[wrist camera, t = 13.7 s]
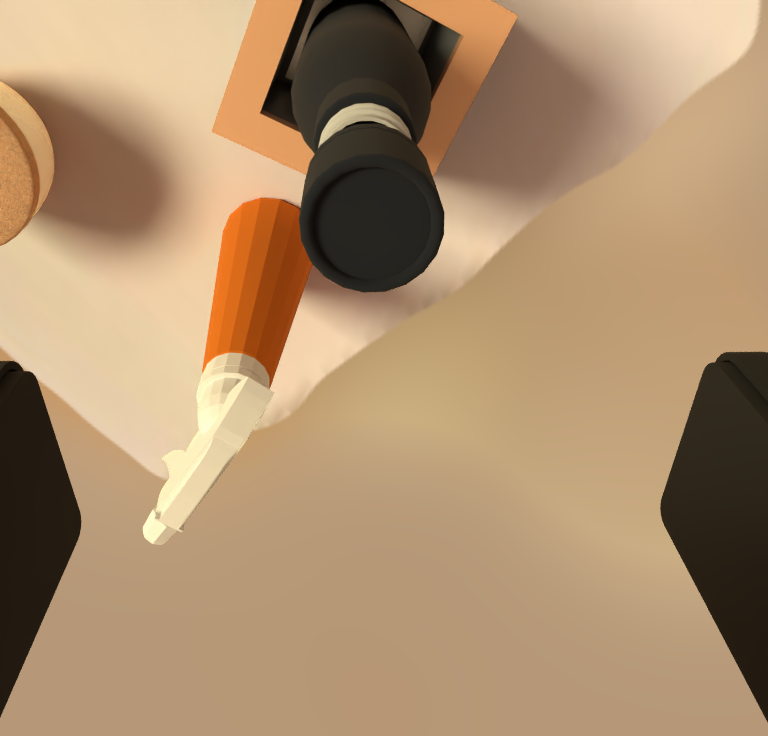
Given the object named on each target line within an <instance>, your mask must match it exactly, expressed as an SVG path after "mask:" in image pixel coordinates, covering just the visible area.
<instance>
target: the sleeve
mask: <svg viewBox="0 0 768 736" xmlns="http://www.w3.org/2000/svg"><path fill="white" fill-rule="evenodd" d="M398 1H400V2H402V3H403V4H405V5H407V6H409V7H411V8H412V9H414V10H416V11H418V12H420V13H421V14H423V15H425V16H427V17H429V18H430V19H431V20H432V22H431V24H430V26H429V28H428V31H427V33H426V35H425V37H424V39H423V41H422V43H421V45H420V48H419V50H418V53H419V55H420V56H421V58H422V60H423V62H424V64H425V67H426V70H427V74H428V77H429V81H430V84H431V111H430V115H429V118H428V121H427V124H426V127H425V130H424V134H423V136H422V138H421V140H420V142H419V143H418V145H417V146H418V147H419V149H420V150H421V151H422V153H423V154H424V156H425V157H426V159H427V162H428V165H429V168H430V171H431V174H432V177H433V176H434V174H435V172H436V170H437V168H438V166H439V164H440V162H441V161H442V159H443V157H444V155H445V153H446V151H447V149H448V147H449V145H450V144H451V142H452V140H453V138H454V136H455V134H456V132H457V130H458V128H459V127H460V125H461V123H462V121H463V119H464V117H465V115H466V113H467V111H468V110H469V108H470V106H471V104H472V102H473V100H474V98H475V96H476V94H477V93H478V91H479V89H480V87H481V85H482V83H483V81H484V79H485V77H486V75H487V74H488V72H489V70H490V68H491V66H492V64H493V62H494V60H495V58H496V57H497V55H498V53H499V51H500V49H501V47H502V45H503V43H504V41H505V40H506V38H507V36H508V34H509V32H510V30H511V28H512V26H513V24H514V23H515V21H516V19H517V17H518V15H516V14H514V13H512V12H511V11H509V10H507V9H505V8H504V7H502V6H500V5H499V4H497V3H495V2H493V1H492V0H398ZM313 3H314V0H257V1H256V4H255V6H254V9H253V12H252V15H251V18H250V21H249V24H248V27H247V30H246V33H245V36H244V39H243V41H242V44H241V47H240V50H239V53H238V56H237V59H236V62H235V65H234V68H233V71H232V73H231V76H230V79H229V82H228V85H227V88H226V91H225V94H224V97H223V100H222V103H221V106H220V108H219V111H218V114H217V117H216V120H215V123H214V126H213V129H212V132H213V133H216V134H218V135H220V136H222V137H224V138H227V139H229V140H231V141H233V142H235V143H237V144H240V145H242V146H244V147H246V148H248V149H251V150H253V151H255V152H257V153H259V154H261V155H264V156H266V157H268V158H270V159H272V160H275V161H277V162H279V163H281V164H283V165H286V166H288V167H290V168H292V169H294V170H296V171H299V172H301V173H303V174H305V175H307V171H308V166H309V162H310V161H311V159H312V158H313V156H314V153H313V151H312V150H311V149H310V148H309V146H308V145H307V144H306V143H305V141H304V139H303V137H302V135H301V132H300V130H299V127H298V125H297V123H296V120H295V118H294V115H293V108H292V98H291V88H292V84H293V81H292V80H290V79H288V78H286V77H285V76H286V73H287V71H288V68H289V66H290V63H291V60H292V58H293V55H294V52H295V50H296V47H297V45H298V42H299V39H300V37H301V34H302V32H303V29H304V26H305V24H306V21H307V19H308V16H309V13H310V11H311V8H312V5H313Z"/></svg>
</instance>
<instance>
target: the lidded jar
mask: <svg viewBox="0 0 768 736" xmlns="http://www.w3.org/2000/svg"><path fill="white" fill-rule="evenodd" d="M53 175H54V154H53V148H52V143H51V140H50V137H49V134H48V132H47V130H46V128H45V126H44V124H43V122H42V120H41V119H40V117H39V116H38V114H37V113H36V111H35V110H34V109H33V108H32V107H31V106H30V104H29V103H28V102H27V101H26V100H25V99H24V98H23V97H22V96H20V95H19V94H18V93H17V92H16V91H14V90H13V89H12V88H10V87H9V86H7V85H6V84H4V83H2V82H0V246H1V245H3V244H6V243H7V242H9V241H10V240H12V239H13V238H14V237H16V236H17V235H18V234H19V233H20V232H21V231H22V230H23V229H24V228H25V227H26V226H27V225H28V223H29V221H30V220H31V218H32V217H33V216H34V215H35V214H36V213H37V212H38V210H39V209H40V207H41V206H42V204H43V202H44V201H45V199H46V197H47V195H48V193H49V190H50V187H51V184H52V181H53Z"/></svg>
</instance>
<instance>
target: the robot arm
mask: <svg viewBox="0 0 768 736" xmlns="http://www.w3.org/2000/svg"><path fill="white" fill-rule="evenodd" d="M660 509H661V516H662V521H663V523H664V526H665V528H666V530H667V532H668V533H669V535H670V537H671V539H672V541H673V543H674V545H675V547H676V549H677V551H678V552H679V554H680V556H681V558H682V560H683V562H684V564H685V566H686V568H687V569H688V572H689V573H690V575H691V577H692V579H693V581H694V583H695V585H696V587H697V589H698V591H699V592H700V594H701V596H702V598H703V600H704V602H705V603H706V605H707V608H708V610H709V611H710V613H711V615H712V617H713V619H714V621H715V623H716V625H717V626H718V629H719V631H720V632H721V634H722V636H723V638H724V640H725V642H726V644H727V646H728V647H729V649H730V651H731V653H732V655H733V657H734V659H735V661H736V663H737V665H738V667H739V669H740V670H741V672H742V674H743V676H744V678H745V680H746V682H747V684H748V686H749V688H750V689H751V692H752V693H753V695H754V697H755V699H756V701H757V703H758V705H759V707H760V709H761V710H762V712H763V714H764V716H765V718H766V720H767V722H768V353H766V352H726V353H723V354H721V355H720V356H719V357H718V358H717V360H716V362H715V363H710V364H708V365H707V366H706V367H705V369H704V371H703V374H702V377H701V380H700V383H699V386H698V390H697V392H696V395H695V399H694V401H693V404H692V407H691V411H690V413H689V417H688V420H687V423H686V426H685V429H684V433H683V435H682V438H681V441H680V444H679V447H678V450H677V453H676V456H675V459H674V462H673V465H672V468H671V471H670V474H669V478H668V481H667V484H666V487H665V490H664V493H663V496H662V499H661V508H660ZM80 529H81V515H80V510H79V507H78V504H77V501H76V498H75V495H74V492H73V489H72V486H71V483H70V479H69V477H68V473H67V470H66V467H65V464H64V461H63V458H62V455H61V452H60V449H59V445H58V442H57V440H56V436H55V433H54V430H53V427H52V424H51V421H50V418H49V415H48V412H47V409H46V405H45V402H44V399H43V396H42V393H41V390H40V387H39V384H38V381H37V379H36V376H35V375H34V374H33V373H32V372H29V371H23V369H22V367H21V366H20V365H19V364H18V363H17V362H14V361H0V717H1V714H2V712H3V710H4V707H5V705H6V703H7V701H8V698H9V696H10V694H11V691H12V689H13V687H14V685H15V682H16V680H17V678H18V675H19V673H20V671H21V669H22V666H23V664H24V662H25V659H26V657H27V655H28V653H29V650H30V648H31V646H32V644H33V641H34V639H35V636H36V634H37V632H38V630H39V628H40V625H41V623H42V621H43V618H44V616H45V614H46V611H47V609H48V607H49V605H50V602H51V600H52V598H53V596H54V593H55V591H56V589H57V586H58V584H59V582H60V579H61V577H62V575H63V573H64V570H65V568H66V566H67V564H68V561H69V559H70V557H71V554H72V552H73V550H74V548H75V545H76V543H77V541H78V538H79V535H80Z"/></svg>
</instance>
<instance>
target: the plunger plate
mask: <svg viewBox="0 0 768 736" xmlns="http://www.w3.org/2000/svg"><path fill="white" fill-rule="evenodd" d="M331 1H333V0H314V3H313V5H312V8H311V11H310V13H309V16H308V19H307V21H306V24H305V26H304V29H303V32H302V34H301V37H300V39H299V42H298V45H297V47H296V50H295V52H294V55H293V58H292V60H291V63H290V66H289V68H288V71H287V73H286V76H285V77H286V78H288V79H290V80H292V81H293V79H294V74H295V69H296V66H297V63H298V60H299V58H300V55H301V52H302V49H303V47H304V44H305V41H306V38H307V36H308V33H309V30H310V27H311V26H312V24H313V22H314V20H315V19H316V17H317V15H318V13H319V12H320V11H321V10H322V9H323V8H324V7H326V6H327V5H328V4H329V3H330V2H331ZM380 1H382V2H383V3H384V4H386V5H387V6H388V7H390V8H391V9H392V10H393V11H394V13H395V14H396V16H397V17H398V18H399V20H400V21H401V23H402V24H403V26H404V28H405V30H406V31H407V33H408V35H409V37H410V39H411V40H412V42H413V44H414V46H415V48H416V49H417V51H418V50H419V48H420V45H421V43H422V41H423V39H424V37H425V35H426V33H427V31H428V28H429V26H430V24H431V22H432V20H431V19H430V18H429V17H427V16H425V15H423V14H421V13H420V12H418V11H416V10H414V9H412V8H411V7H409V6H407V5H405V4H403V3H402V2H400V1H398V0H380Z"/></svg>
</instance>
